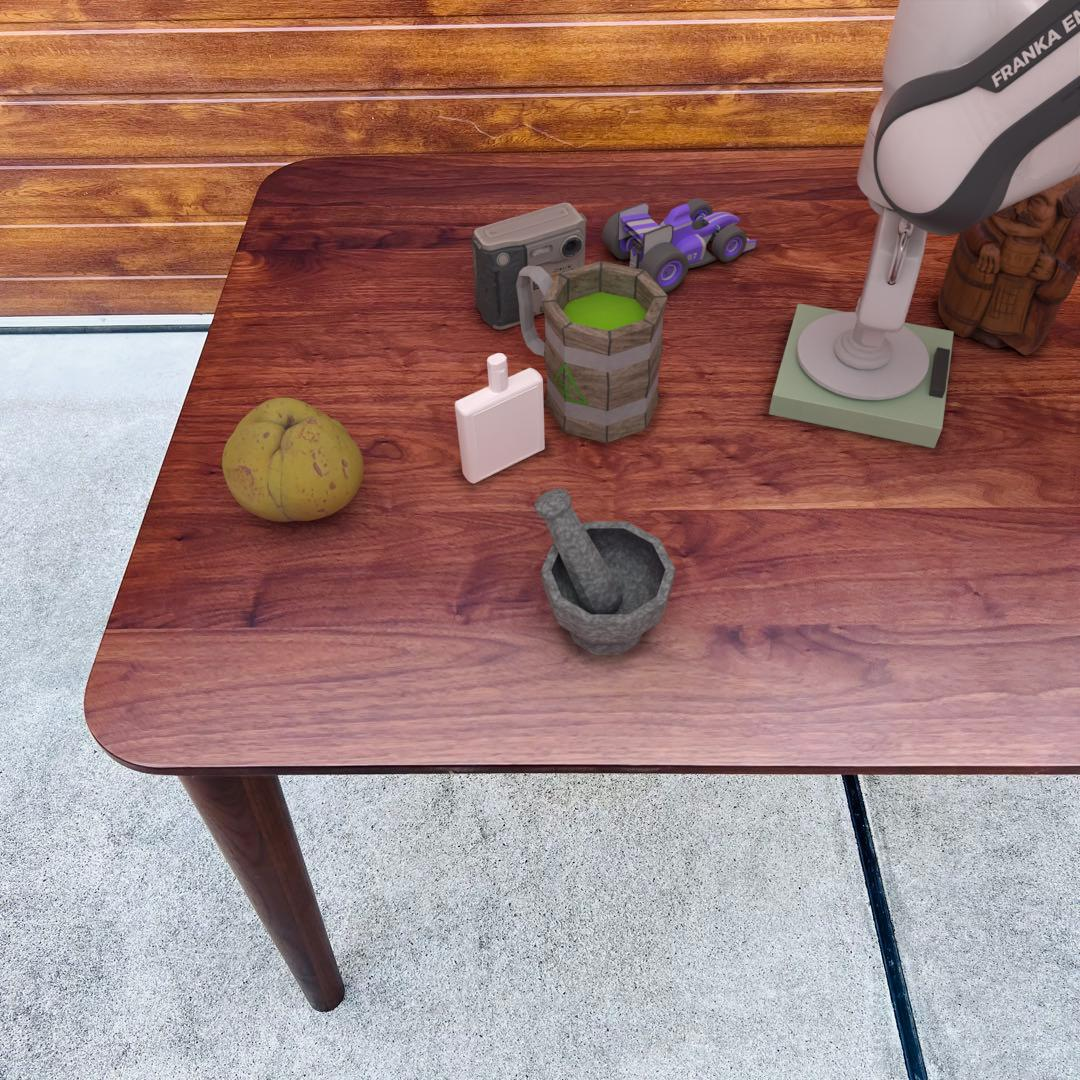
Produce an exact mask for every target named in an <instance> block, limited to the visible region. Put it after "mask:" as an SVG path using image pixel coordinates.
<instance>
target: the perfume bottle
mask: <svg viewBox="0 0 1080 1080" xmlns="http://www.w3.org/2000/svg"><path fill="white" fill-rule="evenodd" d="M486 365H487V377H488V378H487V381H488V386H485V387H484V388H481V389H479V390H477V391H474V392H473V393H471V394H469V395H467V396H464V397H462V398H460V399H458V400H456V401H455V402H454V411H455V419H456V429H457V438H458V445H459V453H460V463H461V469H462V475H463V477H464V478H465V479H466V480H467V481H468V483H470V484H474V485H475V484H477V483H479V482H480V481H483V480H484V479H487V478H488V477H491V476H493V475H495V474H497V473H498V472H501V471H503V470H505V469H508V468H509V467H511V466H514V465H516V464H517V463H519V462H521V461H524V460H526V459H527V458H529V457H532V456H534V455H536V454H538V453H540V452H542V451H544V450H545V449H546V442H545V440H546V439H545V410H544V409H545V408H544V406H545V403H544V379H543V377H542V374H540V372H538V370H536V369H535V368H532V367H528V368H526V369H524V370H521V371H519V372H517V373H514V374H513V375H510V376H509V372H508V369H509V368H508V357H507V356H506V355H505V354H504V353H501V352H497V353H494V354H492V355H489V356H488V357H487V360H486Z"/></svg>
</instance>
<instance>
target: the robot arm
mask: <svg viewBox="0 0 1080 1080" xmlns="http://www.w3.org/2000/svg"><path fill="white" fill-rule="evenodd" d="M897 5H898V6H897V9H896V12H895V14H894V18H893V22H892V26H891V29H890V33H889V36H888V41H887V44H886V48H885V52H884V58H883V62H882V68H881V71H882V72H881V77H882V89H881V94H880V96H879V100H878V102H877V104H876V106H875V107H874V108H873V111H872V112H871V115H870V118H869V123H868V126H867V129H866V130H867V131H866V135H865V139H864V144H863V148H862V153H861V156H860V161H859V166H858V170H857V174H856V182H857V185H858V188H859V190H860V191H861V192H862V193H863V195H865V196H866V198H867V201H868V202H867V203H868V205H869V206H870V208H871V209H872V210H873V211H874V212H875V213H876V214H877V215H878V218H877V223H876V227H875V230H874V231H875V232H874V236H873V241H872V245H871V250H870V254H869V260H868V264H867V269H866V272H865V277H864V278H865V279H864V281H863V284H864V286H863V285H862V290H861V295H860V297H861V299H860V304H859V309H858V313H857V324H858V325H859V326H860V327H863V328H864V330H863V334H862V338H861V342H862V343H863V344H864V345H868V346H873V347H879V346H881V345H882V344H883V340H884V337H885V334H886V332H889V333H897V332H899V331H900V330H901V328H902V327H903V325H904V323H906V319H907V316H908V313H909V309H910V306H911V302H912V300H913V296H914V294H915V293H914V292H915V289H916V286H917V282H918V278H919V275H920V271H921V268H922V265H923V264H922V263H923V260H924V256H925V250H926V245H927V239H928V234H932V235H935V236H943V237H948V236H949V237H951V236H955V235H959V233H961V232H963V231H965V230H967V229H969V228H970V227H972V226H974V225H976V224H978V223H979V222H981V221H983V220H985V219H986V218H988V217H990V216H991V215H993V214H994V213H995V212H997V211H999V210H1002V209H1004V208H1006V207H1008V206H1010V205H1013V204H1015V203H1017V202H1019V201H1021V200H1024V199H1026V198H1028V197H1030V196H1032V195H1035V194H1037V193H1039V192H1041V191H1043V190H1046V189H1048V188H1050V187H1052V186H1054V185H1056V184H1058V183H1060V182H1062V181H1065V180H1067V179H1069V178H1071V177H1073V176H1076V175H1078V174H1080V0H899V2H898V4H897Z"/></svg>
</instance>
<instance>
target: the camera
mask: <svg viewBox="0 0 1080 1080" xmlns="http://www.w3.org/2000/svg"><path fill="white" fill-rule="evenodd" d="M587 221H588V220H587V217H586V216H585V215H584V214H583V213H582V212H580V213H579V211H577V209H576V207H574V206H573V205H572V203H569V202H561V203H558V204H554V205H550V206H547V207H544V208H541V209H538V210H534V211H531V212H528V213H525V214H520V215H517V216H514V217H510V218H507V219H503V220H500V221H497V222H493V223H490V224H487V225H482V226H480V227H477V228H476V229H474V230H473V234H472V236H471V238H470V245H471V253H472V272H473V280H474V281H473V282H474V283H473V284H474V297H475V298H474V299H475V306H476V308H477V311H478V312H479V313H480V314H481V319H482V320H483V321H484V322H485V323H486V324H487V325H489V326H490V327H492V328H493V329H494V330H497V331H504V330H508V329H510V328H513V327H516V326H519V325H521V324H520V313H519V301H518V294H517V287H516V283H517V279H518V276H519V272H520V271H521V270H522V269H523V268H524V267H526V266H540V267H542V268H543V269H544V270H545V271H546V272H547V273H548V274H549V275H550V276H551V278H552V280H553V281H554V280H555V278H556V277H557V275H558V274H559V273H562V272H566V271H569V270H572V269H576V268H579V267H582V266H586V262H585V261H586V240H587V239H586V237H587V236H586V235H587V234H586V231H587V230H586V228H587ZM530 287H531V293H532V299H533V314H534V317H535V316H539V315H541V314H544V311H543V305H542V300H543V299H544V297H545V296H544V295H543V293H542V292H541V290H540V288H539V286H538V285H537V284H536V283H535V282H534V281H533V280H532V279H531V278H530Z"/></svg>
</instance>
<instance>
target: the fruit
mask: <svg viewBox="0 0 1080 1080" xmlns="http://www.w3.org/2000/svg"><path fill="white" fill-rule="evenodd" d="M221 466H222V468H221V469H222V473H223V477H224V481H225V482H226V485H227V488H228V490H229V491H230V493H231V495H232V496H233V497H234V499H235V501H236V502H237V503H238V504H239V505H240V507H242V508H243V509H244V510H246V511H247V512H249V513H250V514H251V515H255V516H256V517H259V518H262V519H264V520H267V521H272V522H279V523H280V522H281V523H286V522H288V523H289V522H309V521H314V520H320V519H323V518H325V517H329V516H331V515H333V514H336V513H337V512H338V511H340V510H342V509H344V508H345V507H347V506H348V505H349V504H350V503H351V501H352V500H353V499H354V498H355V496H356V495H357V493H358V491H359V489H360V487H361V486H362V485H361V484H362V482H363V479H364V473H365V464H364V457H363V455H362V452H361V450H360V447H359V446H358V445H357V443H356V442H355V440H354V439H353V438H352V437H351V435H350V433H349V432H348V430H347V429H346V427H345V426H344V425H343V424H342V423H341V422H340V421H338V420H337V419H334V418H332V417H330V416H329V415H328V414H326V413H324V412H323V411H320V409H317V408H316V407H315V406H314V405H311V404H310V403H307V402H304V401H303V400H300V399H297V398H293V397H276V398H271V399H267V400H266V401H264V402H262V403H260V404H259V405H257V406H256V407H255V408H252V410H250V411H249V412H248V413H247V414H245V416H244V417H243V418H242V419H241V420H240V421H239V422H238V424H237V426H236V427H235V429H234V431H233V433H232V434H231V435H230V436H229V438H228V440H227V441H226V443H225V445H224V448H223V452H222V458H221Z"/></svg>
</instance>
